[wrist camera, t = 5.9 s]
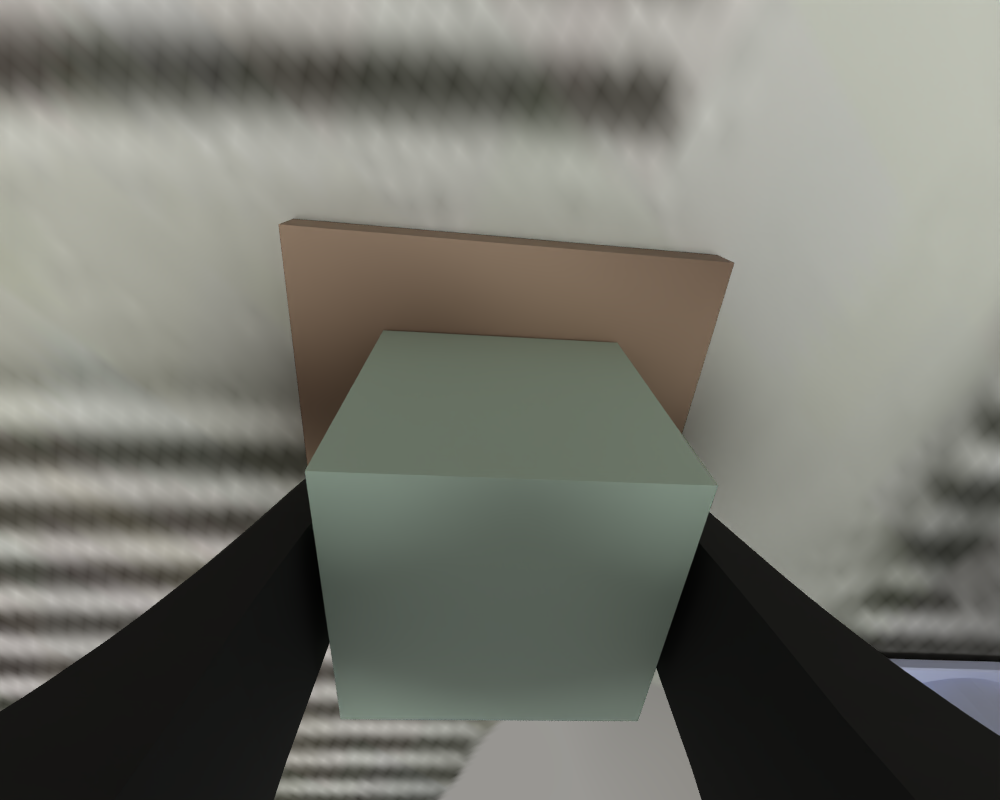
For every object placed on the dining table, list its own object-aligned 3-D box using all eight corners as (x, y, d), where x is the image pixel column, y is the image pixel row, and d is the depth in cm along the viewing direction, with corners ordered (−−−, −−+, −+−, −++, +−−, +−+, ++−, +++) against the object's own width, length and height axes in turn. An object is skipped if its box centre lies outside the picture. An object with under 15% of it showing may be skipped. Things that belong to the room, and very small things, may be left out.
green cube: (583, 521, 13) (637, 721, 8) (392, 515, 12) (341, 719, 8) (617, 342, 10) (718, 485, 6) (383, 330, 10) (304, 471, 6)
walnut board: (629, 558, 15) (637, 579, 14) (327, 545, 14) (319, 566, 13) (717, 255, 10) (734, 263, 10) (293, 219, 10) (278, 224, 9)
